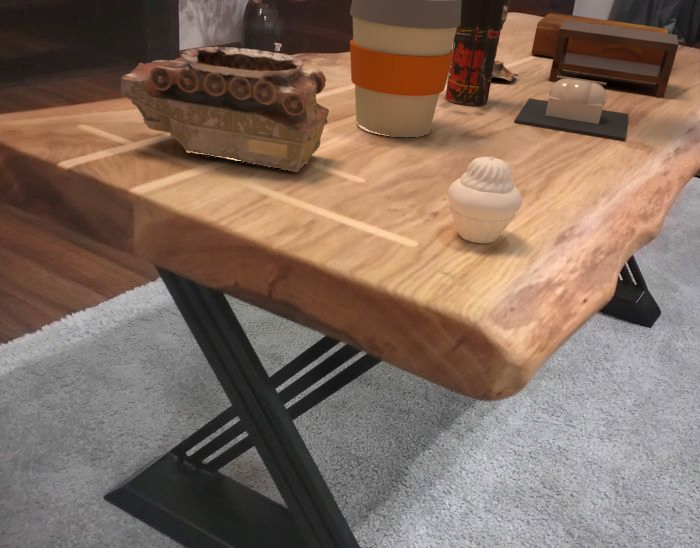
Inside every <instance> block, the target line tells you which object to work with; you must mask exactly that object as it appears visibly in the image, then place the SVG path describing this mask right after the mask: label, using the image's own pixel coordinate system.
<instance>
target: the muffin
mask: <svg viewBox="0 0 700 548" xmlns="http://www.w3.org/2000/svg"><path fill="white" fill-rule="evenodd" d="M511 176H512V169H511V167H510V165H509V164H508V163H507V162H506V161H504V160H503V159H500V158H497V157H494V156H493V155H491V156H480V157H476V158H474V159H473V160H472V161H470V163H469V164H468V165H467V170H466V172H464V173H463V174H462V175H461V177H460V178H457V179H456V180H455V181H453V182H452V183H451V184H450V186H449V188H448V190H447V198H448V202H449V206H448V207H449V210H450V214H451V216H452V219H453V222H454V225H455V227H456V231H457V234H458V236H459V237H461V239H463V240H465V241H467V242H470V243H476V244H491V243H494V242H495V241H497V239H498V238H499V237H500V236H501V235H502V233H503V232H504V231H505V230H506V228H507V227H508V226H509V225H510V224H511V222H512V221H513V220H514V219H515V217H516V214H517V213H518V212H519V211H520V209H521V208H522V205H523V197H522V194H521V192H520V191H519V189H518V187H516V185H514V184H515V183H514V180H513V179H512V177H511Z"/></svg>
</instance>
